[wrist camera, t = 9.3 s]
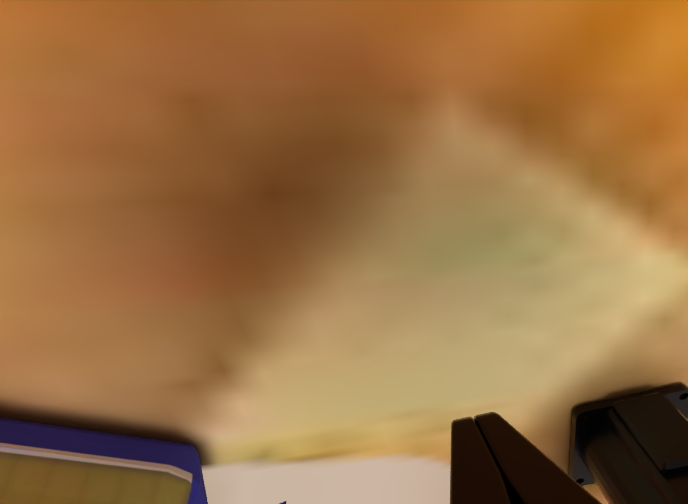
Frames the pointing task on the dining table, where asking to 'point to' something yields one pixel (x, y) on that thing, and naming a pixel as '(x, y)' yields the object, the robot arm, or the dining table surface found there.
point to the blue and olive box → (94, 467)
